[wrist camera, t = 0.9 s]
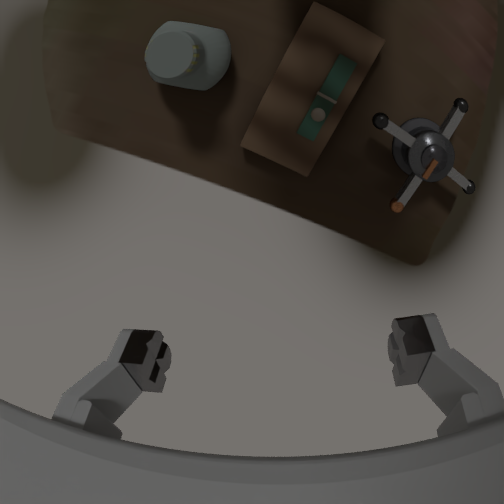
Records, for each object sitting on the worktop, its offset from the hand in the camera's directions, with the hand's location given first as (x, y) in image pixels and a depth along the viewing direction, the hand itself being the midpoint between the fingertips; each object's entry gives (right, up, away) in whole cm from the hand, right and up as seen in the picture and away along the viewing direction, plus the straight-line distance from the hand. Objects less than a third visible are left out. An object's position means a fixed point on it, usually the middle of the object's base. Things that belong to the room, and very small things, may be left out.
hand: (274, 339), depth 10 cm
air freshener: (-8, +29, +25) cm, 39 cm away
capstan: (+24, +17, +28) cm, 40 cm away
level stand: (+7, +24, +26) cm, 36 cm away
